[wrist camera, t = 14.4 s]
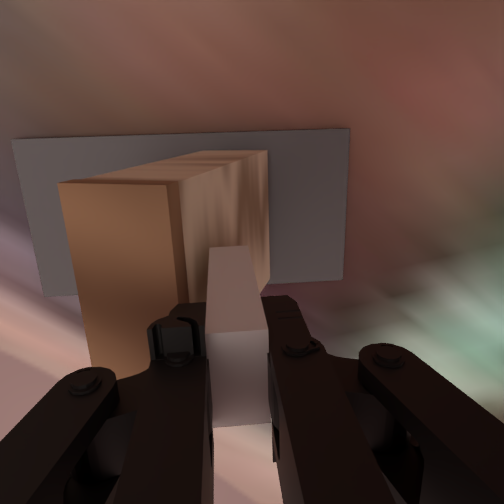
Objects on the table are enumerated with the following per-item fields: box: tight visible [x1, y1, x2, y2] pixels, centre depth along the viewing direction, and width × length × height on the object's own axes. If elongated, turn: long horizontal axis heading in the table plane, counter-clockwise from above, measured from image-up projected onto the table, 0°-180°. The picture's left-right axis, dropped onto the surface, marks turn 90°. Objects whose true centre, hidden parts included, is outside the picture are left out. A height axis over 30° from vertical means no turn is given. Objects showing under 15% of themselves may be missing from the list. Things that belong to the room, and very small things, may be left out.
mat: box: [11, 128, 350, 297], centre depth 26 cm, size 10×20×1 cm, turn 92°
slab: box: [57, 150, 270, 380], centre depth 20 cm, size 8×4×12 cm, turn 2°
